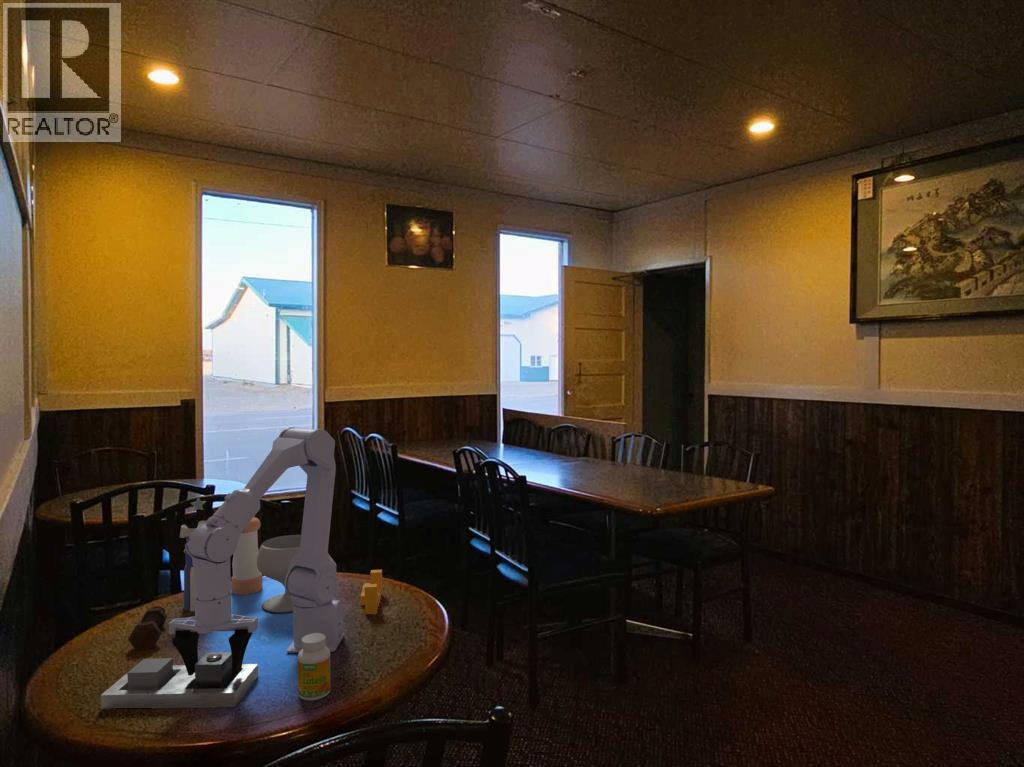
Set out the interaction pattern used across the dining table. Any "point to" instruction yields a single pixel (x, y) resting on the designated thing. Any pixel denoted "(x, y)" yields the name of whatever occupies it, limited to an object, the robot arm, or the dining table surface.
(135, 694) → the tray
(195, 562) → the robot arm
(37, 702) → the dining table surface
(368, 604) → the pipe clamp
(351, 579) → the dining table surface
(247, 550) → the salt shaker
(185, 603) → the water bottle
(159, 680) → the slate block
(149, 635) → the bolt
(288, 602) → the chalice
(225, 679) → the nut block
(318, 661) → the supplement bottle
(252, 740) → the dining table surface
